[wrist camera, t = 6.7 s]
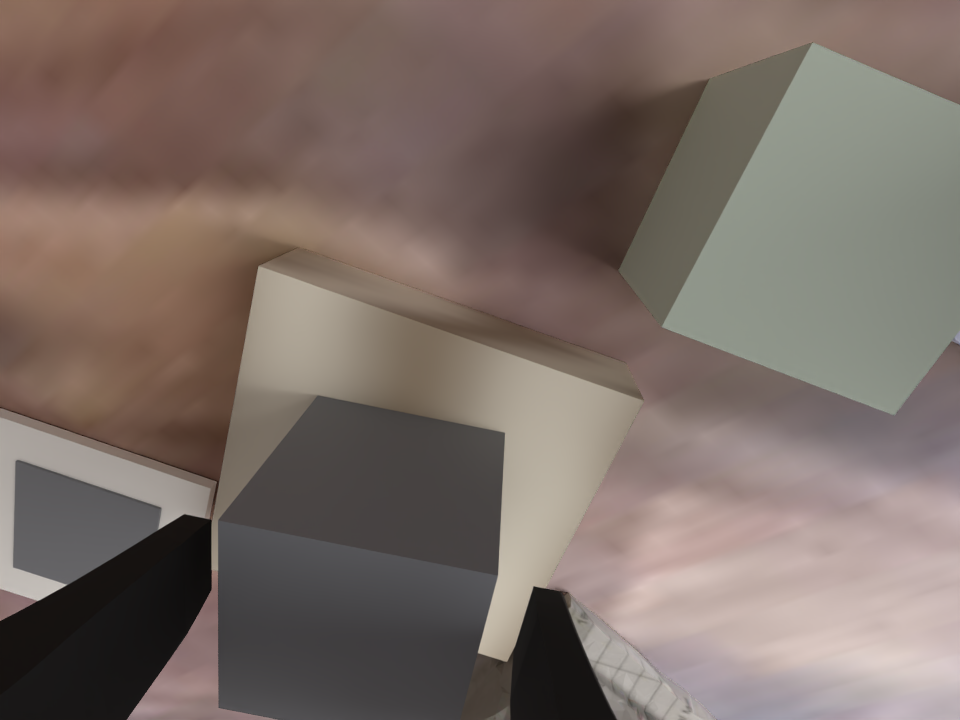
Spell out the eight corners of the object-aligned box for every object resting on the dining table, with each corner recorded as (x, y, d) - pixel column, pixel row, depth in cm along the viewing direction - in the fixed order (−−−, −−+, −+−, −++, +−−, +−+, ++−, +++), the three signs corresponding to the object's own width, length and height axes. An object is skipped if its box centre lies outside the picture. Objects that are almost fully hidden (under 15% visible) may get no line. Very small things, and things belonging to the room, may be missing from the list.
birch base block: (622, 357, 16) (644, 401, 13) (508, 589, 20) (506, 661, 17) (305, 244, 16) (258, 265, 13) (249, 506, 19) (204, 566, 17)
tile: (216, 481, 18) (209, 490, 18) (185, 636, 21) (177, 647, 21) (-16, 402, 18) (-30, 409, 17) (-15, 573, 21) (-27, 582, 20)
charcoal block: (505, 432, 14) (498, 575, 9) (470, 575, 16) (451, 752, 11) (317, 395, 14) (218, 520, 9) (306, 543, 16) (218, 707, 11)
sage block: (891, 155, 13) (1091, 160, 9) (779, 332, 15) (893, 415, 10) (708, 79, 13) (812, 42, 8) (618, 270, 15) (661, 327, 10)
